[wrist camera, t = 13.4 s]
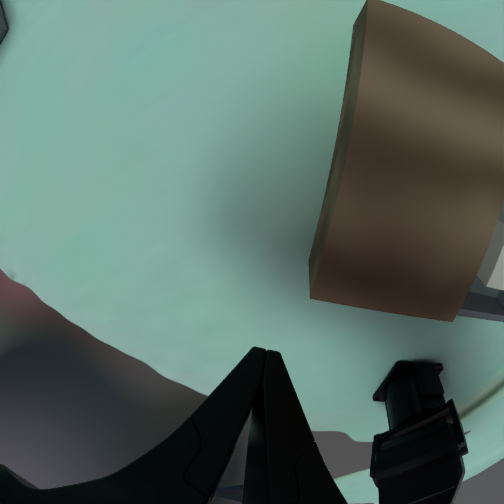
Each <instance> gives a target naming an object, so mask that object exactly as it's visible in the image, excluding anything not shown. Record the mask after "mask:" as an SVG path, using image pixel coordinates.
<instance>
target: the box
mask: <svg viewBox="0 0 504 504" xmlns="http://www.w3.org/2000/svg"><path fill="white" fill-rule="evenodd" d="M498 219H500V220H502V221H504V201H503V204H502V208H501V211H500V214H499V217H498ZM457 315H459V316H465V317H472V318H479V319H486V320H493V321H501V322H504V290H500V289H495V288H491V287H486V286H485V285H484V283H483V282H482V281H481V280H480V279H479V278H478V277H477V276H476V277H475V279H474V281H473V283H472V286H471V288H470V290H469V292H468V294H467V296H466V298H465V300H464V302H463V304H462V305H461V307H460V309H459V311H458V313H457Z"/></svg>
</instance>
